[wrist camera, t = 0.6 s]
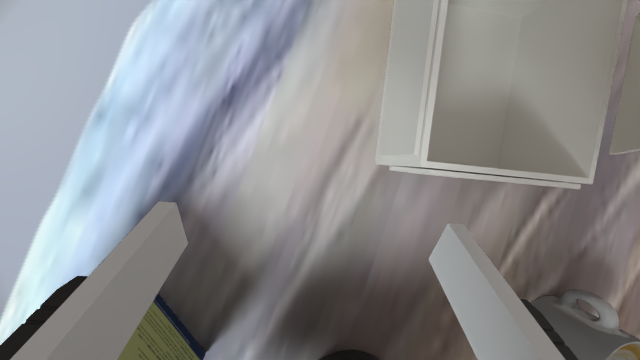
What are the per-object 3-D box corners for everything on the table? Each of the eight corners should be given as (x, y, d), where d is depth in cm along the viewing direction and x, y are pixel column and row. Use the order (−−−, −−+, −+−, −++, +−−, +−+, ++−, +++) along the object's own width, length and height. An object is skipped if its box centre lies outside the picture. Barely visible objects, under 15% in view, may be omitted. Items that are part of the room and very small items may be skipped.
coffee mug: (562, 352, 40) (649, 414, 31) (513, 347, 39) (587, 411, 29) (582, 279, 40) (678, 320, 30) (532, 272, 38) (616, 312, 28)
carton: (492, 180, 36) (591, 190, 24) (370, 168, 33) (412, 173, 22) (517, 19, 34) (638, -56, 22) (390, -6, 31) (448, -105, 20)
